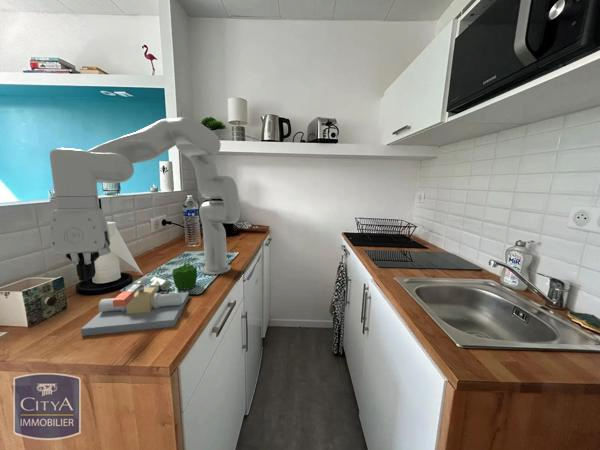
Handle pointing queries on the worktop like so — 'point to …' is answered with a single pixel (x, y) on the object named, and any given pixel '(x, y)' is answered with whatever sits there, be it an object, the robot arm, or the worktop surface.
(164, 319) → the pipe board
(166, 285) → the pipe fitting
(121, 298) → the valve lever
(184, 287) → the bell pepper
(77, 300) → the worktop surface
